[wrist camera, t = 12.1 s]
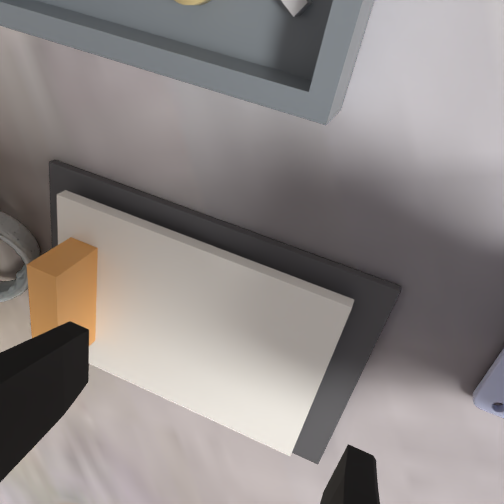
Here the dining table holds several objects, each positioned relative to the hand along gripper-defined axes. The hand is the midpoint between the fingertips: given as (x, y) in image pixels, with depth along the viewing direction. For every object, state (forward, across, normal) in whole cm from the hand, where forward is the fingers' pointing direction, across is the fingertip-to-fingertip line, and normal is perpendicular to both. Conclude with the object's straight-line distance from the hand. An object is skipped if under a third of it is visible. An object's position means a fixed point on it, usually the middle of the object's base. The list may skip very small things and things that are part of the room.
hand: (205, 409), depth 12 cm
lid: (+8, +4, +6) cm, 11 cm away
